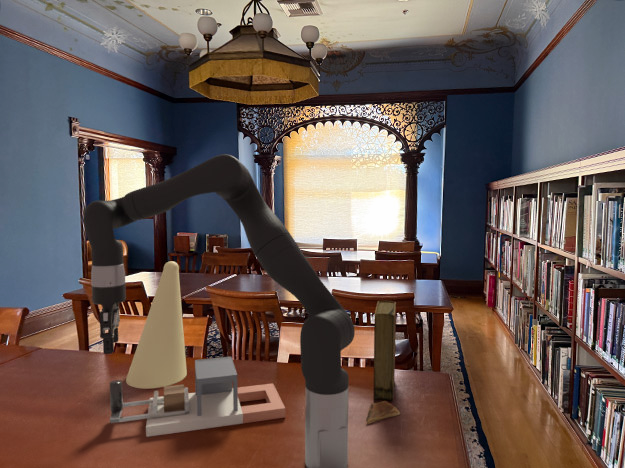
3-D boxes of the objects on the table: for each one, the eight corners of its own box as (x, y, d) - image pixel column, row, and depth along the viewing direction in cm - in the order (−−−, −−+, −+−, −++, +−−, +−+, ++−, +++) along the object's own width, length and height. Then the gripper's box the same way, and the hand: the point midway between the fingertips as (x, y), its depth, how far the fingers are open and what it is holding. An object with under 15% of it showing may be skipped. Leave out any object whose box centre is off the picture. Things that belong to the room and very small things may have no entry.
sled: (188, 413, 114) (188, 381, 113) (108, 423, 109) (107, 390, 108) (188, 397, 122) (187, 368, 122) (113, 407, 117) (112, 376, 116)
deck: (285, 417, 118) (285, 408, 117) (146, 436, 108) (145, 426, 108) (273, 391, 133) (272, 383, 133) (150, 406, 123) (149, 397, 123)
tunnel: (237, 410, 116) (237, 374, 115) (197, 416, 113) (196, 379, 112) (231, 388, 129) (231, 356, 128) (195, 393, 126) (194, 360, 125)
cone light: (171, 390, 134) (168, 273, 131) (113, 386, 136) (109, 271, 133) (202, 360, 158) (200, 260, 155) (152, 357, 160) (150, 259, 157)
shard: (366, 426, 114) (366, 419, 114) (350, 413, 121) (350, 406, 121) (400, 417, 119) (400, 410, 119) (383, 404, 126) (383, 398, 126)
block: (184, 411, 116) (184, 392, 115) (164, 413, 114) (163, 394, 114) (184, 402, 120) (184, 384, 120) (164, 405, 119) (164, 386, 118)
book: (376, 378, 143) (378, 300, 141) (394, 379, 142) (395, 301, 140) (373, 401, 127) (374, 313, 125) (393, 403, 126) (394, 314, 124)
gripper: (121, 287, 104) (124, 355, 106) (128, 276, 118) (130, 337, 119) (86, 289, 102) (89, 359, 104) (96, 278, 116) (99, 340, 117)
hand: (111, 347), depth 112 cm, fingers open, 8 cm apart
